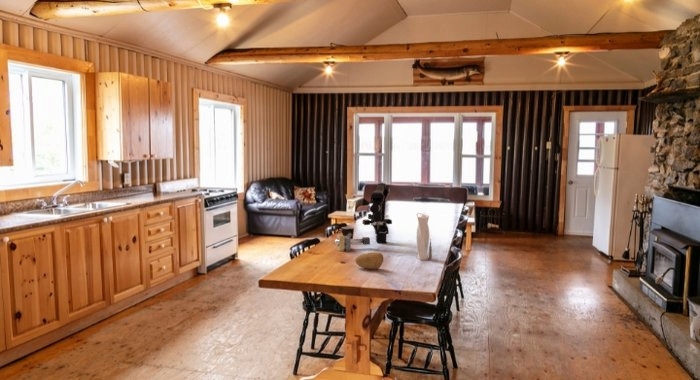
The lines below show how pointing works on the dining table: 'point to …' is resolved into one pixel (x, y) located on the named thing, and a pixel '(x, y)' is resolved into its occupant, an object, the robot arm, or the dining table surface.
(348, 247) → the pillow block
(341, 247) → the spacer
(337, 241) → the shaft
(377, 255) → the potato
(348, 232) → the coffee mug
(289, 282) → the dining table surface
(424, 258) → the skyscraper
